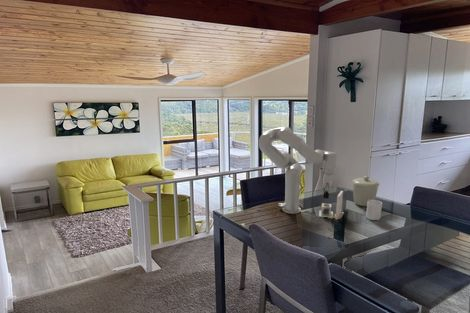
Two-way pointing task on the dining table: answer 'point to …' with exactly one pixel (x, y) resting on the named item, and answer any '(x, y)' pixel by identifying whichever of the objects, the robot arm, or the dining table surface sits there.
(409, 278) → the dining table surface
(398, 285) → the dining table surface
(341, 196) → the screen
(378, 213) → the mug
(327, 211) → the letter cube
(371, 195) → the canister
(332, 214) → the mat
